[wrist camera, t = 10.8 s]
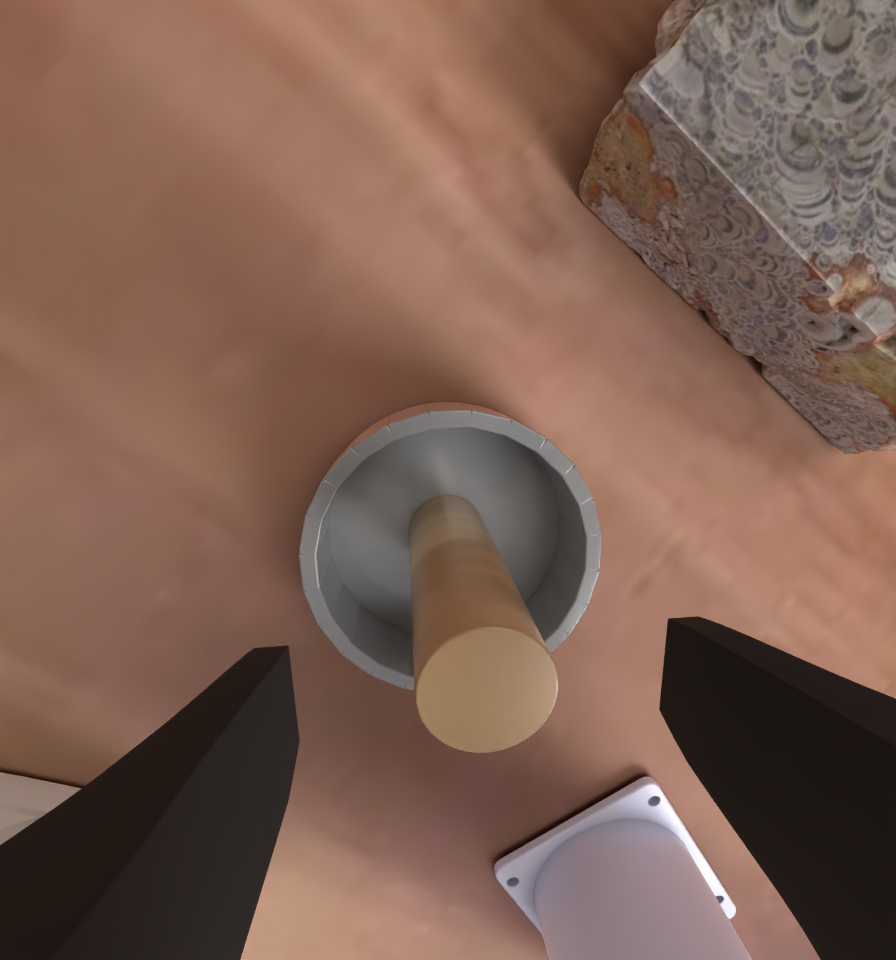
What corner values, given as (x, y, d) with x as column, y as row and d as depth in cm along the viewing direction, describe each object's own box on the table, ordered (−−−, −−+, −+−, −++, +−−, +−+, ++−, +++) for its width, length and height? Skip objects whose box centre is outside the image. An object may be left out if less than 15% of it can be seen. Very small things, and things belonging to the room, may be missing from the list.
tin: (609, 559, 18) (649, 597, 15) (408, 681, 18) (409, 741, 16) (489, 349, 16) (508, 346, 13) (263, 493, 16) (233, 521, 13)
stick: (487, 497, 17) (569, 630, 8) (478, 567, 17) (548, 755, 9) (412, 492, 16) (421, 623, 8) (406, 563, 17) (408, 752, 9)
